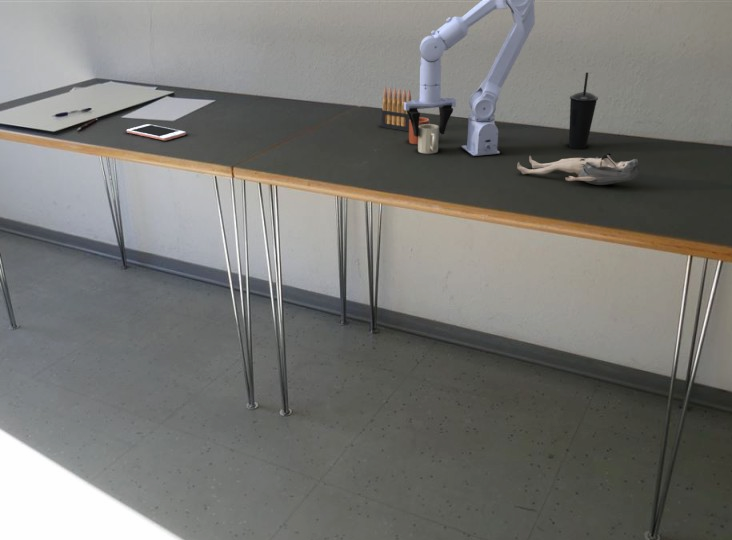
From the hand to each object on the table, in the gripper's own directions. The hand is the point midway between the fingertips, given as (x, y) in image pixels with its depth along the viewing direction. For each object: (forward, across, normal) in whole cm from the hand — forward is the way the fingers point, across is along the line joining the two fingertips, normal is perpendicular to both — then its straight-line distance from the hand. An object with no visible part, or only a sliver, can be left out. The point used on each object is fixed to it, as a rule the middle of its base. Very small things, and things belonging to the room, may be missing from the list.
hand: (428, 134), depth 226 cm
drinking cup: (+5, -42, +9) cm, 43 cm away
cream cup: (+5, 0, +1) cm, 5 cm away
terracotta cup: (+5, 0, -11) cm, 12 cm away
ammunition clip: (+5, +1, -27) cm, 27 cm away
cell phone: (+4, +74, -44) cm, 86 cm away
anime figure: (+5, -27, +37) cm, 46 cm away
